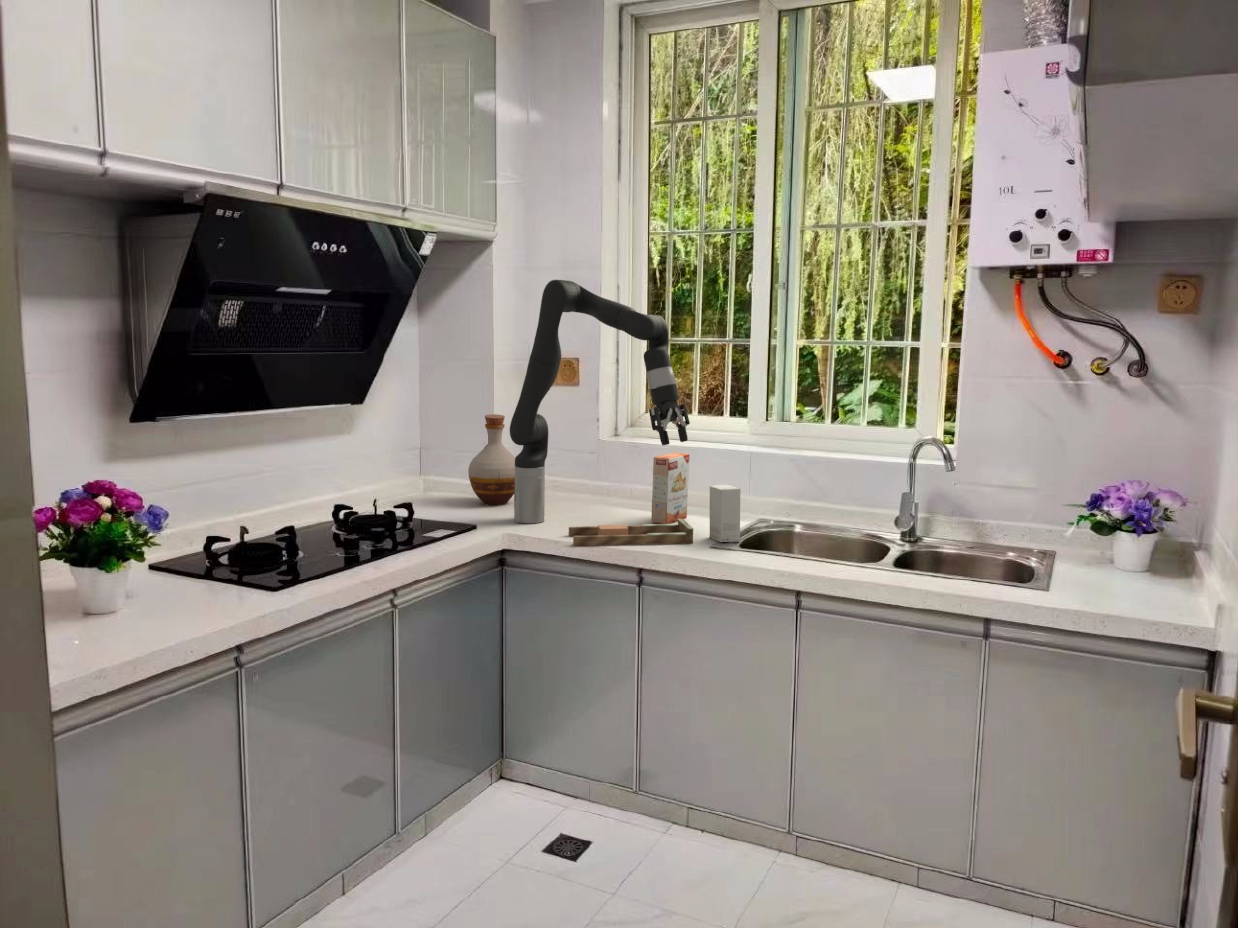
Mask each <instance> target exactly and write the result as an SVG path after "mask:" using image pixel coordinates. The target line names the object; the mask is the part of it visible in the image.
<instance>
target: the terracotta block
mask: <svg viewBox="0 0 1238 928" xmlns="http://www.w3.org/2000/svg"><path fill="white" fill-rule="evenodd" d="M597 526H598V535H628V527H627V526H628V525H626V524H598V525H597Z"/></svg>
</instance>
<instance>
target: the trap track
mask: <svg viewBox="0 0 1238 928" xmlns="http://www.w3.org/2000/svg"><path fill="white" fill-rule="evenodd" d="M626 526H627V527H628V535H598V525H597V526H596V525H595V526H592V525H591V526H568V537H572V543H573V544H572V545H573V546H574V547H579V546H580V547H581V546H582V547H584V546H627V545H633V546H634V545H667V544H669V545H673V544H674V545H676V544H693V543H694V527H692V525H691V524H689V523H688V522H687V521H686V519H685V518H684V519H678V521H677V523H669V524H658V523H652V524H651V523H650V524H649V523H648V524H645V523H644V524H643V523H641V524H638V525H626Z"/></svg>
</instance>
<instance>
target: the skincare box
mask: <svg viewBox="0 0 1238 928" xmlns="http://www.w3.org/2000/svg"><path fill="white" fill-rule="evenodd" d="M709 538H710V539H712V540H714V541H716V542H718V541H719V542H718V543H720V542H729V543H739V542H740V541H741V488H740V487H737V486H736V487H735V486H733V485H731V484H719V485H716V484H715V485H709Z"/></svg>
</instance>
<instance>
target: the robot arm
mask: <svg viewBox="0 0 1238 928" xmlns="http://www.w3.org/2000/svg"><path fill="white" fill-rule="evenodd" d="M540 302H541V303H540V309H539V315H538V322H537V328H536V332H535V336H534V341H533V345H532V349H531V352H530V356H529V360H528V364H527V368H526V372H525V377H524V381H523V384H522V387H521V390H520V391H521V392H520V396H519V397H518V402H517V404H516V407H515V409H514V412H513V415H512V417H511V421H510V425H509V436H510V439H511V441H512V442H513V443H514V445H518V446H522V449H521V451H520V452H519V453H518V454H517V455H516V456H515V489H514V495H513V497H514V501H513V504H514V505H513V510H514V512H513V513H514V514H513V515H514V516H513V519H514V523H515V524H516V523H517V524H519V523H520V524H539V523H543V522H544V521H545V515H546V513H545V500H546V499H545V497H546V496H545V492H546V491H545V488H546V487H545V480H546V479H545V478H546V477H545V472H546V471H545V470H546V469H545V468H546V467H545V466H546V465H545V463H546V460H547V457H548V453H549V452H548V449H549V447H548V446H549V425H548V422H547V420H546V418H545V417H544V416H543V415H541V414H539V413H538V411H539V407H540V406H541V403H542V402H543V400H544V398H545V397H546V395H547V394H548V392H549V391H550V390H551V389H552V387H553V385H554V383H555V382H556V379H557V378H558V377H557V376H558V373H559V370H560V367H561V362H562V348H561V344H560V337H559V328H560V322H561V320H562V316H563V313H580V314H584V315H589V316H590V317H593V318H595V319H596V320H598V321H599V322H600V323H602V324H604V325H606V326H609V327H610V328H613V329H616V330H618V331H622V332H624V333H626V335H627V334H628V335H629V336H631V337H632V338H634V339H637V340H640V341H647V342H648V349H647V350H646V351H644V353H643V361H644V365H645V370H646V377H647V384H648V388H649V393H650V398H651V403H652V405H653V406H656V407H652V408H649V410H648V411H649V418H650V424H651V430H652V431H656V432H657V433H658V435H659V440H660V443H661V445H662V446H666V445H670V439H669V438H670V437H669V433H668V431H667V428H668V424H669V423H672V425H673V424H674V426H675V427H676V428H677V433H678V438H679V441H680V442H681V443H684V442H687V441H688V439H689V438H688V433H687V426H688V425H690V423H691V422H690V418H689V415H688V409H687V407H686V404H685V403H682V404H678V401H679V400H680V394H679V391H678V386H677V382H676V377H675V374H674V370H673V368H672V363H671V359H670V355H669V346H670V344H669V341H670V340H669V339H670V338H669V337H670V335H669V327H668V324H667V322H666V320H665V318H663V317H662V316H661V315H658V314H645V313H641V312H638V311H637V310H636V309H635V308H633V307H631V306H628V305H625V304H622V303H620V302H617V301H614V300H611V299H609V298H605V297H601V296H599V295H598V294H596V293H593V292H591V291H590V290H588V289H587V288H584V287H583V286H582V285H580V284H578V283H576V282H574V281H573V280H572V281H571V280H567V279H565V280H564V279H552V280H550V281H549V282H547V284H546V285H545V287H544V289H543V291H542V296H541V301H540Z"/></svg>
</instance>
